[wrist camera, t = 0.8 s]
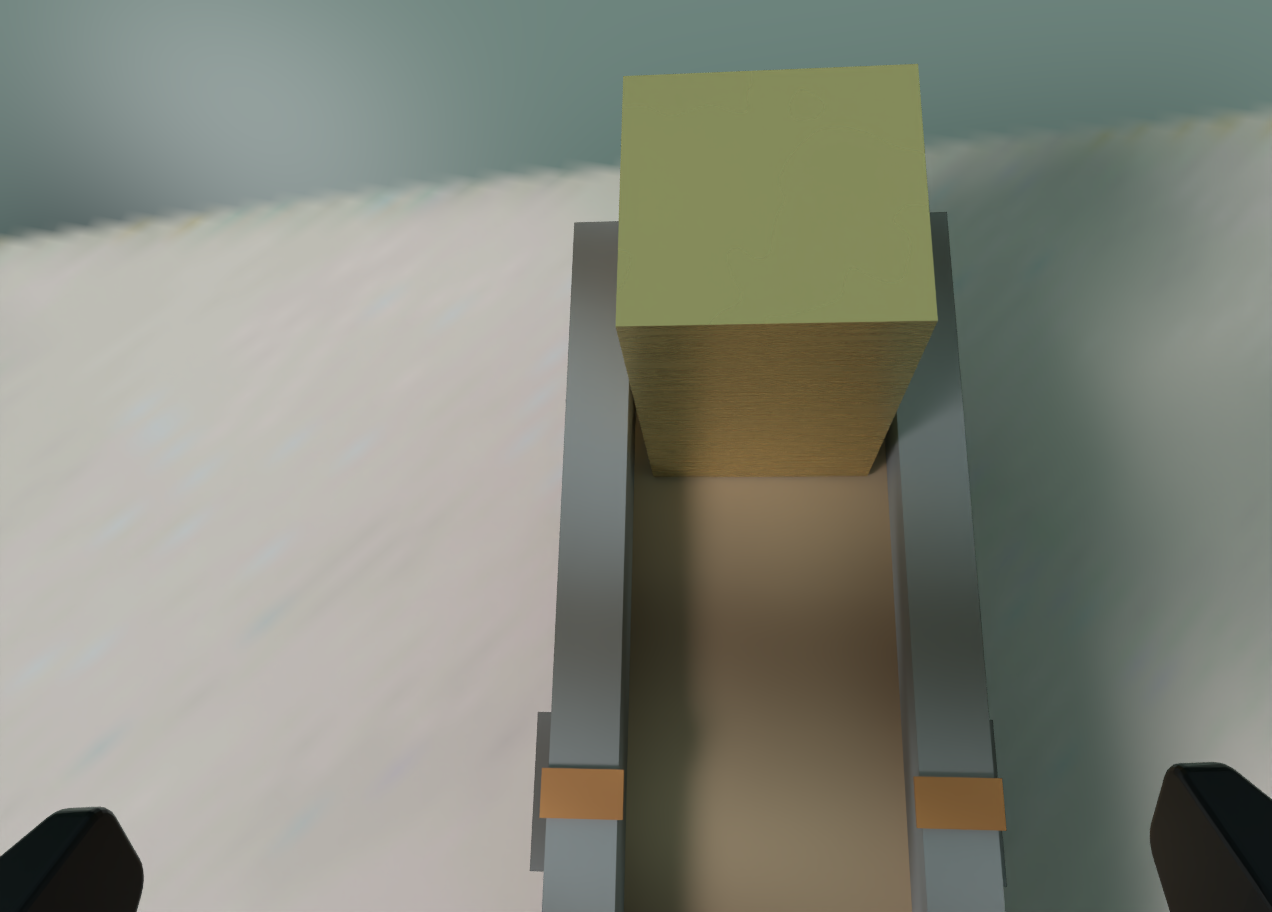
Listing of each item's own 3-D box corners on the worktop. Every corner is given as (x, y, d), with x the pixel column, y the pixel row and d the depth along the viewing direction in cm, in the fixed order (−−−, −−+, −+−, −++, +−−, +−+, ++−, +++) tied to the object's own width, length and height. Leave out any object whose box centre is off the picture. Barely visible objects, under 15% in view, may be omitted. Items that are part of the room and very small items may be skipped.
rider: (866, 476, 20) (938, 320, 13) (653, 476, 20) (615, 327, 13) (857, 292, 21) (917, 63, 14) (657, 296, 21) (622, 76, 14)
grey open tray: (992, 1172, 20) (1126, 1373, 13) (543, 1146, 20) (453, 1322, 14) (930, 339, 25) (1002, 181, 19) (578, 344, 26) (526, 196, 19)
